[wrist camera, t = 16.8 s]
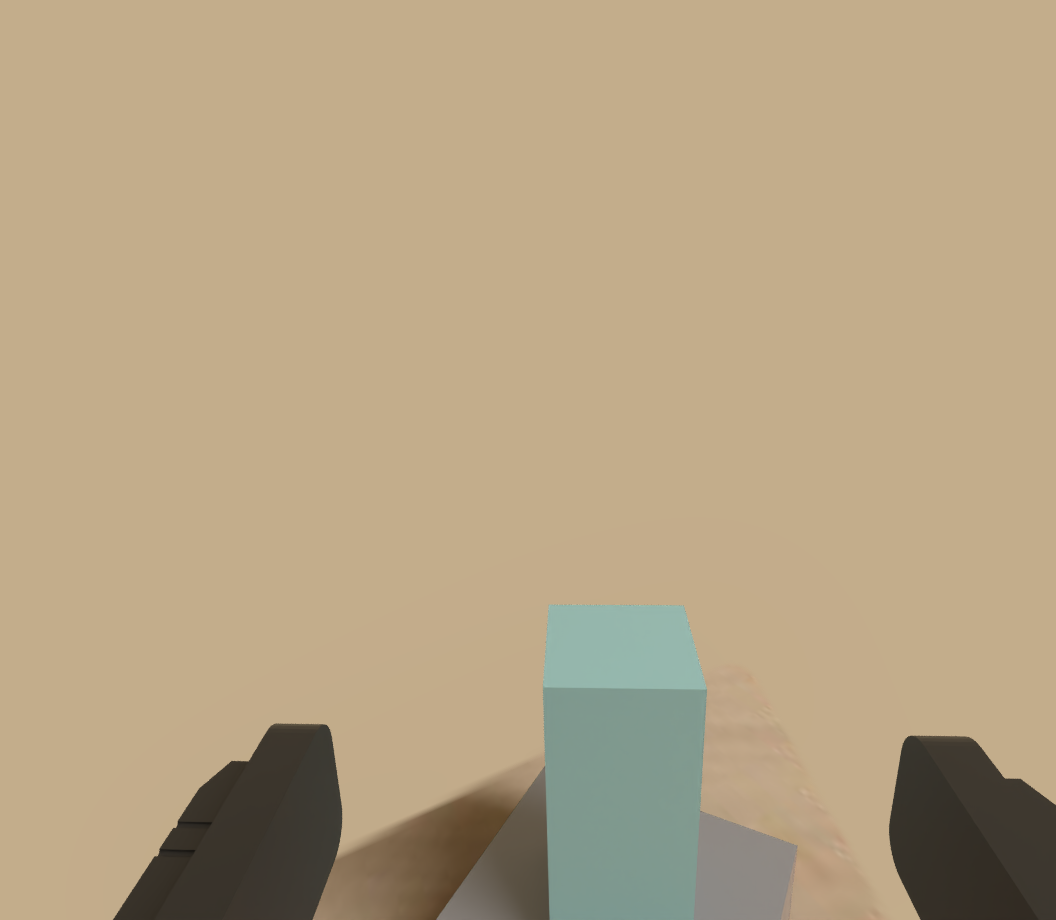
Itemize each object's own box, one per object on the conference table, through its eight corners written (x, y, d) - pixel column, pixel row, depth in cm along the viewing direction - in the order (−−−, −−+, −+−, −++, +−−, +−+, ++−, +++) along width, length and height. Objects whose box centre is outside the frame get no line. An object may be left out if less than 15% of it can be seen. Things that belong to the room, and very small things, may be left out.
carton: (550, 960, 31) (542, 687, 27) (554, 845, 37) (548, 604, 32) (691, 966, 31) (706, 689, 26) (673, 849, 36) (683, 605, 32)
